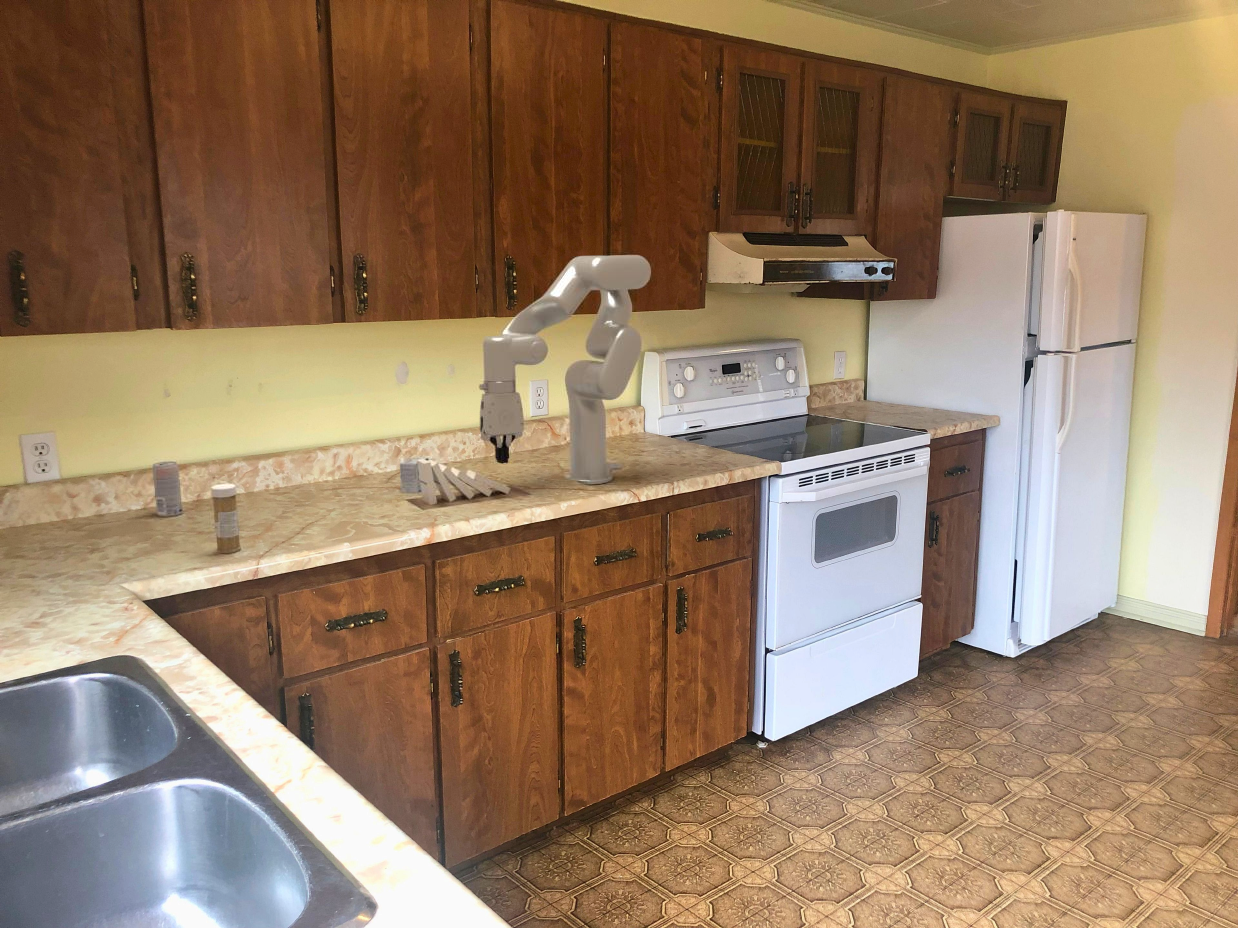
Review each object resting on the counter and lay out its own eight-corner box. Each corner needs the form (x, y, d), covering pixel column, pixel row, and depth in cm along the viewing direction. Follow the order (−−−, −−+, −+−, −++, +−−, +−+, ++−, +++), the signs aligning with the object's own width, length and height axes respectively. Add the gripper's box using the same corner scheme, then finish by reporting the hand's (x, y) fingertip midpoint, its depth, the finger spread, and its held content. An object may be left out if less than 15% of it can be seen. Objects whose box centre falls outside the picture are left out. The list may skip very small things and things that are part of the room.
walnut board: (511, 489, 245) (511, 485, 245) (532, 498, 235) (532, 494, 235) (405, 504, 231) (405, 499, 230) (423, 514, 221) (422, 509, 220)
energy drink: (177, 510, 227) (172, 460, 224) (186, 514, 223) (181, 463, 221) (153, 514, 223) (148, 463, 221) (162, 518, 219) (156, 467, 217)
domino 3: (466, 490, 235) (439, 463, 230) (474, 494, 230) (447, 466, 226) (461, 495, 234) (434, 468, 229) (469, 499, 230) (442, 472, 225)
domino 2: (448, 494, 232) (430, 459, 228) (456, 498, 228) (437, 462, 224) (442, 498, 232) (423, 463, 228) (450, 502, 227) (431, 466, 223)
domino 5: (501, 483, 239) (468, 469, 234) (510, 487, 235) (476, 472, 230) (499, 490, 239) (465, 475, 234) (507, 494, 235) (473, 479, 230)
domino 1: (429, 499, 230) (423, 458, 227) (437, 503, 226) (431, 462, 223) (422, 500, 229) (416, 460, 227) (430, 504, 225) (423, 463, 222)
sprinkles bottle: (218, 548, 195) (212, 483, 192) (242, 546, 196) (236, 482, 194) (215, 555, 191) (209, 488, 188) (239, 553, 192) (234, 487, 189)
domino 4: (484, 486, 237) (452, 466, 232) (492, 490, 233) (460, 470, 227) (480, 493, 237) (448, 473, 231) (488, 497, 233) (456, 476, 227)
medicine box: (418, 498, 237) (416, 463, 235) (401, 497, 238) (399, 463, 236) (430, 491, 245) (429, 457, 243) (414, 490, 245) (412, 457, 244)
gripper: (477, 391, 225) (480, 468, 229) (535, 387, 233) (536, 461, 236) (465, 388, 231) (467, 463, 235) (521, 384, 239) (523, 456, 243)
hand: (502, 462), depth 236 cm, fingers closed
